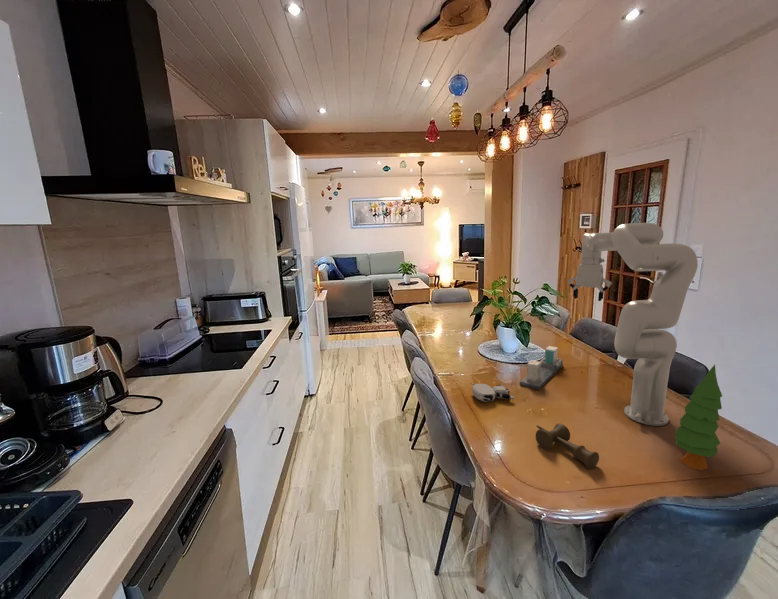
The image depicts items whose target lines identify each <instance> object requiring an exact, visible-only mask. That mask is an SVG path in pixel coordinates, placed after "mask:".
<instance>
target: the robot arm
mask: <svg viewBox="0 0 778 599" xmlns="http://www.w3.org/2000/svg"><path fill="white" fill-rule="evenodd" d="M663 238H664V230H663V228H662V227H661V226H660V225H658V224H656V223H653V222H635V223H632V222H631V223H622V224H620V225H618V226H617V227H616V228H614V230H613V231H612V232H586V233H584V234H583V236H582V239H581V240H582V243H581V257H580V264H578V266H577V272H576V276H574V277H571V278H569V279H568V280H567V283H568V285H569V287H571V289H572V290H573V293H572V296H573V298H574V299H575V300H576V299H578V297H579V287H583V288H593V289H594V288H596V289H598V290H599V292H598V297H597V298H598V300H597V301H598V302H601V301H602V300H603V299H604V293H605V291H607V290H608V289H609V288H610V287H611V285H612V281H610V280H608V279H607V278H604V267H603V265H604V264H602V263H605V258H602V252H611V251H612V252H613V251H614V252H617V253H618V254H619V256H620V257H621V259H622V260H623V261H624V262H625V264H626V266H628V267H629V269H631V270H633V271H635V272H655V271H656V272H657V271H665V273H664V274H662V275H661V276H660V277H659V278H658V279H657V280H656V282H655V283H654V284H653V287H652V291H651V294H650V296H649V298H648V299H642V300H639V299H638V300H632V301H629V302H627V303H626V304H625V305H624V306H623V307H622V308H621V310H620V315H619V318H618V322H617V327H616V331H615V332H616V333H615V336H614V344H613V345H614V349H615V352H616V354H617V355H618V356H619V357H622V358H624V359H629V360H631V359H632V360H633V359H637V360H636V363H635V364H634V369H633V376H632V385H631V386H632V388H631V395H630V404H628V405H627V406H625V407H624V411H623V412H624V415H626V416H627V418H629V419H630V420H632V421H635V422H637V423H640V424H643V425H648V426H655V427H661V426H665V425H667V424H669V421H670V419H669V416H668V415H667V414H666V413H665V406H666V398H667V391H668V385H669V384H668V383H669V377H670V370H671V369H670V368H671V364H672V361H673V359H674V356H675V354H676V352H677V347H678V344H677V339H676V337H675V336H674V335H673V333H671V332H670V331H667V330H664V329H670V328H671V329H672V328H673V327H675V326H676V325H677V323H678V322H679V319H680V317H681V313H682V310H683V306H684V303H685V299H686V296H687V292H688V290H689V288H690V285H691V283H692V282H693V280H694V278H695V276H696V273H697V271H698V267H699V266H698V262H699V261H698V257H697V254H696V252H695V251H694V249H692V248H691V247H690V246H688V245H686V244H682V243H660V242H661V241H662V240H663ZM573 281H575V284H574V283H573ZM604 284H606V285H605V286H604V287H603V285H604Z"/></svg>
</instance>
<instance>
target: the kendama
mask: <svg viewBox="0 0 778 599" xmlns="http://www.w3.org/2000/svg"><path fill="white" fill-rule="evenodd" d="M536 428H538V430H537V431H536V432H535V441H536V443H537V445H538V446H539V447H540V448H542V449H543V450H546V451H550V450H552V447H553V445H554V443H555V442H557V443H559V445H560V444H561V446H563V447H564V448H566V449H567V450H568V451H569V452H570V453H571V454H572V455H573V457H574V459H575V460H577V461H581V462H582V463H583V464H584V465H585V467H586V468H587V469H588V470H592V469H595V468H596V467H597V465H598V464H599V460H600V455H599V453H598V452H597V451H590V450H588V449H586V447H585V446H584V445H577V444H574V443H573V442H570V439H571V432H570V430H569V428H568V427H567V426H566V425H564V423H563V424H562V423H556V424H555V425H554V428H553V429H552V430H549V431H548V430H547V429H546V428H543V427H541V426H539V425H536Z"/></svg>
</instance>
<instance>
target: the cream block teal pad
mask: <svg viewBox="0 0 778 599" xmlns="http://www.w3.org/2000/svg"><path fill="white" fill-rule="evenodd" d="M558 351H559V347H557V346H551V345H548V346H547V347H545V353H544V357H545V362H547V363H552V364H556V363H557V358H558V356H559V355H558V353H559V352H558Z"/></svg>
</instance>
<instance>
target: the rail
mask: <svg viewBox="0 0 778 599" xmlns="http://www.w3.org/2000/svg"><path fill="white" fill-rule="evenodd" d="M563 366H564V362H563V359H562V358H559V357H557V363H556V364H552V363H547V362H545V356H544V357H543V358H542V359H541V360H535V359H531V360H530V361H528V362H527V367H526V368H527V369H526V376H524V377H523V378H522V379H521V380H520V381H519V386H522V385H523V387H526V386H527V387H526V388H530V389H533V388H534V390H537V391H539V390H541V389H542V388H543V386H544V385H545V384H546V383H547V382H549V380H550V379H552V377H553V376H554V375H555V374H556V373H557V372H558V371H560V369H562V368H563Z"/></svg>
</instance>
